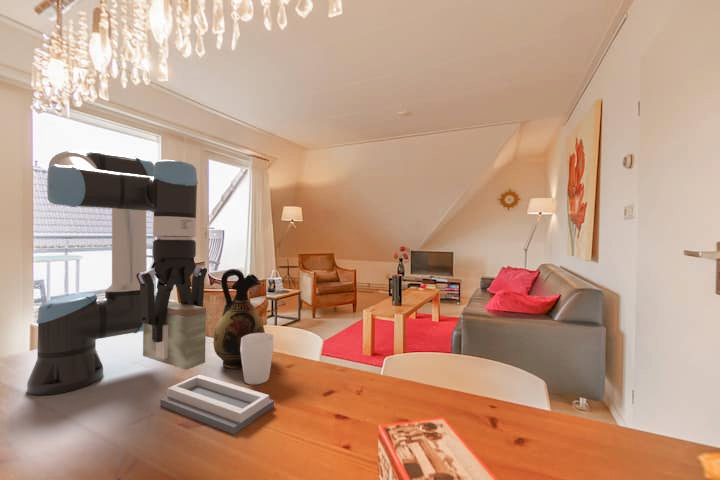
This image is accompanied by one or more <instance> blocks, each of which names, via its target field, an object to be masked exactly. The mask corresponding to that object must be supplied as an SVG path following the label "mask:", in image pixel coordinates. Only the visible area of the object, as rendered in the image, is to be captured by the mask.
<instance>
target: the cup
mask: <svg viewBox="0 0 720 480" xmlns="http://www.w3.org/2000/svg"><path fill="white" fill-rule="evenodd" d="M274 346H275V344H274V335H273V334H271V333H268V332H265V333H253V334H248V335H245V336H243V337H242V338H241V347H240V352H241V360H242V367H243V369H242V372H243V373H242V374H243V380H244V383H246V384H248V385H251V386H255V385H262V384H264V383H266V382H267V381H268V380H269V379H270V373H271V367H272V362H273V361H272V360H273V353H274Z"/></svg>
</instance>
